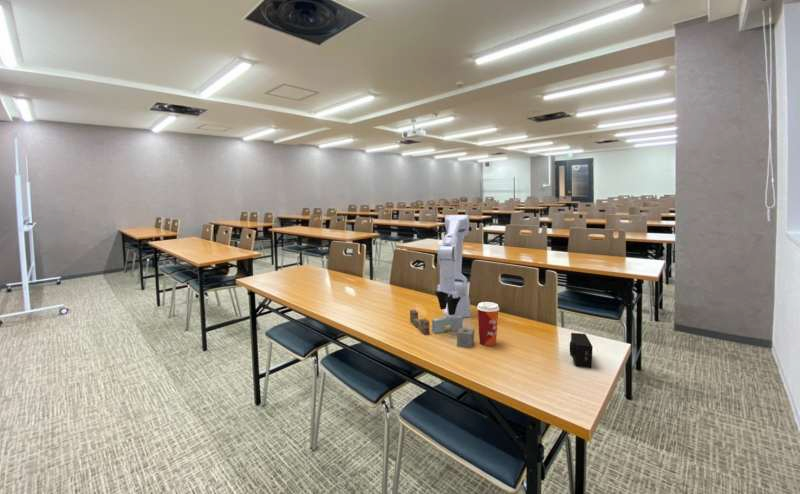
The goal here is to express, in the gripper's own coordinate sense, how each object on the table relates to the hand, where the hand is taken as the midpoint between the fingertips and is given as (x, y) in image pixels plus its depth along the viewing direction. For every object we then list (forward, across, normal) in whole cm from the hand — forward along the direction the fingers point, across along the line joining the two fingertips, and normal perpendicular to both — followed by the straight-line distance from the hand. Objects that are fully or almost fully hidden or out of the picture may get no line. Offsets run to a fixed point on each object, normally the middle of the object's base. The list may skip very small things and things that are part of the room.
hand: (447, 311), depth 140 cm
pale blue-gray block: (+8, 0, 0) cm, 8 cm away
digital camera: (+8, +38, +27) cm, 47 cm away
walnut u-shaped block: (+8, -7, -9) cm, 14 cm away
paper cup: (+8, +16, +8) cm, 19 cm away
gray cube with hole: (+8, +14, 0) cm, 16 cm away
